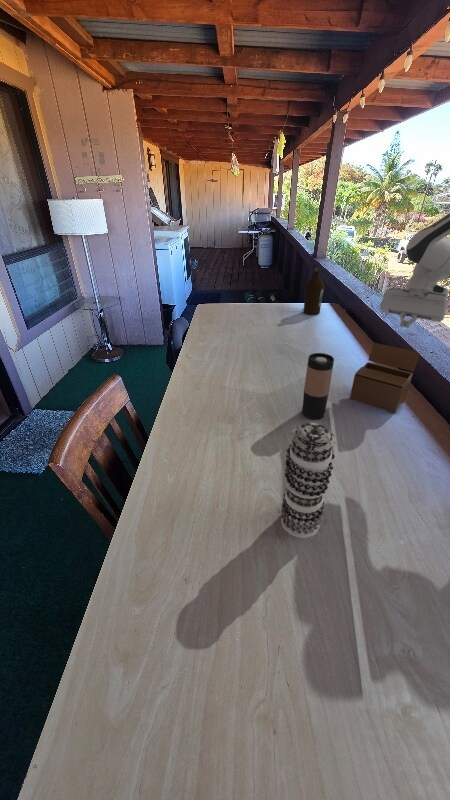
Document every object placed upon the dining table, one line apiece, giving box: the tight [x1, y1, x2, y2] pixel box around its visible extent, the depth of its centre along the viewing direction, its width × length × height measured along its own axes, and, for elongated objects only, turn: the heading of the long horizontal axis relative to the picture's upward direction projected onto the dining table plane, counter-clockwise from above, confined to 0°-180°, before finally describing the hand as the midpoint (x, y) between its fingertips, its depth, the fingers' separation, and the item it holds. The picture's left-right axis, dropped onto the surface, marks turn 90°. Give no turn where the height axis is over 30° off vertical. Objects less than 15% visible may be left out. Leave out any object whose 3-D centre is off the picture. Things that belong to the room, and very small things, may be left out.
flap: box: [367, 342, 421, 373], centre depth 119 cm, size 15×6×1 cm
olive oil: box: [303, 267, 325, 316], centre depth 202 cm, size 11×11×25 cm
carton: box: [349, 361, 414, 414], centre depth 118 cm, size 15×13×11 cm
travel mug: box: [301, 352, 335, 421], centre depth 109 cm, size 8×8×20 cm
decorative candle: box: [280, 422, 337, 539], centre depth 71 cm, size 9×9×25 cm
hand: (404, 326), depth 118 cm, fingers closed
